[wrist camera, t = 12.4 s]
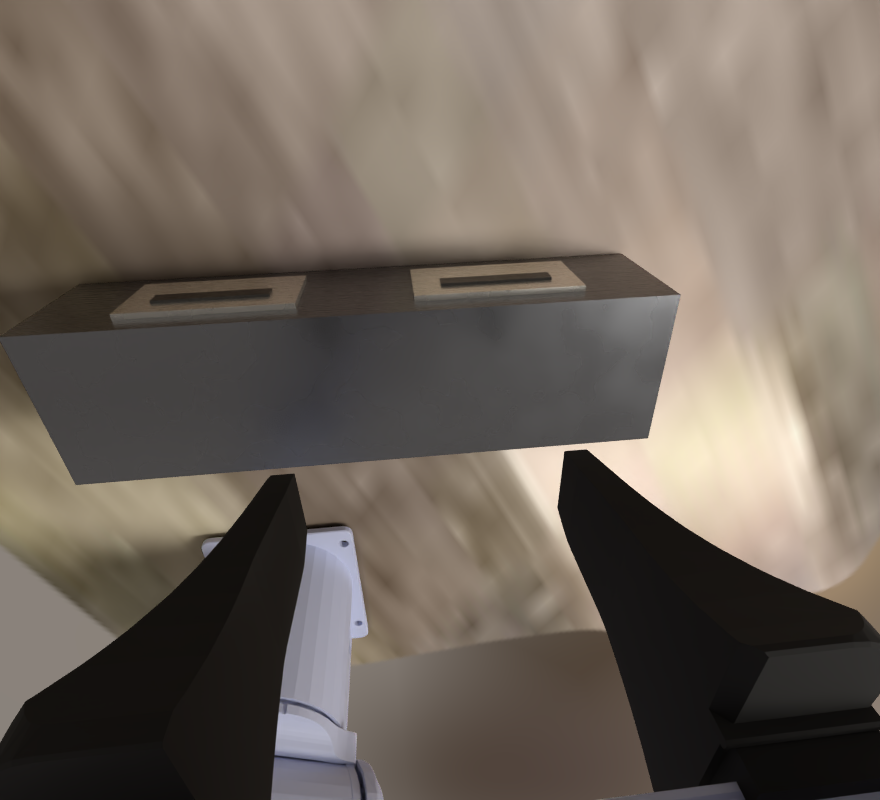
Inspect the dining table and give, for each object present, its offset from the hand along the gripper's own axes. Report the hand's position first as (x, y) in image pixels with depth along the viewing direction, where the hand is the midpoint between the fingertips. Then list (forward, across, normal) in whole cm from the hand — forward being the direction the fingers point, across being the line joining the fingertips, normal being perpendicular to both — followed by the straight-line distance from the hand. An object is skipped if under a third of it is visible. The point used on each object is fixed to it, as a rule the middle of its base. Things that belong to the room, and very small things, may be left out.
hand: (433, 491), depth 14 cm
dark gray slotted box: (+10, +2, 0) cm, 11 cm away
